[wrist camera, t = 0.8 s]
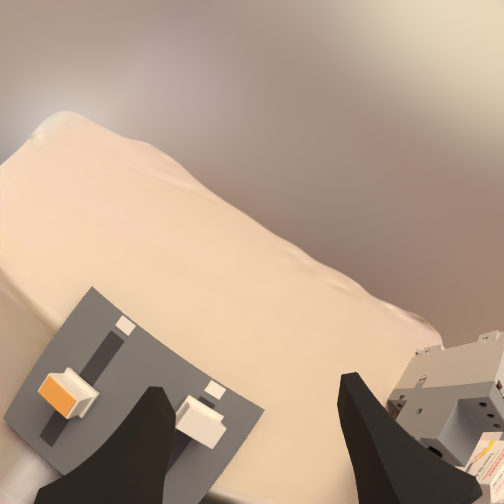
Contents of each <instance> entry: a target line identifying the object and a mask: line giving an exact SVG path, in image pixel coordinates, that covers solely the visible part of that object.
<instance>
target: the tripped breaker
mask: <svg viewBox="0 0 504 504" xmlns="http://www.w3.org/2000/svg"><path fill="white" fill-rule="evenodd" d="M38 392H39V393H40V394H41V395H42V396H43V397H44V398H45V399H46V400H47V401H48V402H49V403H50V404H51V405H52V406H53V407H54V408H55V409H56V410H57V411H58V412H59V413H61V414H62V415H63V416H64V417H65V418H67V419H69V418H72V417H74V416H76V415H78V416H79V417H81V418H83V417H84V416H85V415H86V413H87V412H88V410H89V409H90V407H91V406H92V404H93V403H94V401H95V400H96V399H97V397H98V396H99V394H100V393H99V392H97V391H96V390H95V389H94V388H93V387H91V386H90V385H89V384H88V383H87V382H86V381H84V380H83V379H82V378H81V377H80V376H79V375H78V374H77V373H75V372H74V371H73V370H72V369H71V368H67V369H66V370H65V372H64V373H49V374H48V376H47V377H46V379H45V380H44V382H43V383H42V385H41V386H40V388H39V390H38Z"/></svg>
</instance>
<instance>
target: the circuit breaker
mask: <svg viewBox="0 0 504 504" xmlns="http://www.w3.org/2000/svg"><path fill="white" fill-rule="evenodd" d="M485 338H488V339H487V341H486V339H485ZM427 351H429V353H428V355H426V353H427ZM416 353H417V355H416V357H413V358H412V360H411V361H410V363H409V365H408V367H407V369H406V370H405V372H404V374H403V375H402V377H401V379H400V380H399V382H398V384H397V385H396V387H395V389H394V390H393V392H392V393H391V395H390V396H389V398H388V400H389V401H390V402H391V403H392V404H393V405H394V406H395V407H396V408H397V409H398V410H399V411H400V413H399V415H398V416H397V418H396V422H397V423H398V424H399V425H400V426H401V427H402V428H403V429H404V430H405V431H407V432H408V433H409V434H410V435H411V436H412V437H413V438H414V439H415V440H417V441H418V442H419V443H420V444H422V445H423V446H424V447H425V448H427V449H428V450H429V451H431V452H432V453H434V454H435V455H437V456H438V457H440V458H441V459H443V460H444V461H446V462H448V463H449V464H451V465H453V466H456V467H466V465H467V463H468V461H469V459H470V457H471V456H472V454H473V452H474V450H475V448H476V446H477V444H478V442H479V440H480V437H481V435H482V433H483V432H504V332H499V331H498V330H497V331H493V332H489V333H485V334H482V335H480V336H479V339H478V342H474V343H470V344H466V345H461V346H457V347H452V348H448V349H445V348H444V347H443V346H442V345H437V346H432V347H428V348H425V349H424V350H423V351H420V350H419V349H418V350H417V351H416Z"/></svg>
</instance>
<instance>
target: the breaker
mask: <svg viewBox="0 0 504 504" xmlns="http://www.w3.org/2000/svg"><path fill="white" fill-rule="evenodd" d="M223 417H224V416H222V415H221V414H219V413H217V412H216V411H214V410H212V409H211V408H209V407H208V406H206V405H204V404H203V403H201V402H200V401H198V400H196V399H195V398H193V397H192V396H190V395H189V394H188V396H187V397H186V399H185V400H184V401H183V403H182V404H181V406H180V407H179V409H178V410H177V411H176V425H175V428H177V429H179V430H180V431H182V432H183V433H185V434H187V435H188V436H190V437H192V438H194V439H195V440H197V441H199V442H200V443H202V444H204V445H206V446H208V447H209V448H211V449H213V448H214V446H215V445H216V443H217V442H218V441H219V439H220V438H221V436H222V435H223V433H224V432H225V430H226V428H225V427H224V425H223V424H222V423H221V420H222V419H223Z"/></svg>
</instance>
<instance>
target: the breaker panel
mask: <svg viewBox="0 0 504 504" xmlns="http://www.w3.org/2000/svg"><path fill="white" fill-rule="evenodd" d="M67 368H71V369H72V370H73V371H74V372H75V373H77V374H78V375H79V376H80V377H81V378H82V379H83V380H84V381H86V382H87V383H88V384H89V385H90V386H91V387H93V388H94V389H95V390H96V391H97V392H99V393H100V394H99V396H98V397H97V399H96V400H95V401H94V403H93V404H92V406H91V407H90V409H89V410H88V412H87V413H86V415H85V416H84V417H83V418H81V417H79V416H78V415H76V416H74V417H72V418H69V419H67V418H65V417H64V416H63V415H62V414H61V413H59V412H58V411H57V410H56V409H55V408H54V407H53V406H52V405H51V404H50V403H49V402H48V401H47V400H46V399H45V398H44V397H43V396H42V395H41V394H40V393H39V392H38V390H39V388H40V386H41V385H42V383H43V382H44V380H45V379H46V377H47V376H48V374H49V373H64V372H65V370H66V369H67ZM149 386H155V387H163V389H164V391H165V393H166V395H167V397H168V399H169V401H170V403H171V405H172V407H173V409H174V411H175V413H176V411H177V410H178V409H179V407H180V406H181V404H182V403H183V401H184V400H185V399H186V397H187V396H188V394H189V395H190V396H192V397H193V398H195V399H196V400H198V401H200V402H201V403H203V404H204V405H206V406H208V407H209V408H211V409H212V410H214V411H216V412H217V413H219V414H221V415H222V416H224V417H223V419H222V420H221V423H222V424H223V425H224V427H225V428H226V430H225V432H224V433H223V435H222V436H221V438H220V439H219V441H218V442H217V443H216V445H215V446H214V448H213V449H211V448H209V447H208V446H206V445H204V444H202V443H200V442H199V441H197V440H195V439H194V438H192V437H190V436H188V435H187V434H185V433H183V432H182V431H180V430H179V429H177V428H175V435H174V440H173V444H172V449H171V453H170V458H169V462H168V467H167V471H166V476H165V481H164V490H163V504H198V503H199V502H200V501H201V499H202V498H203V497H204V496H205V494H206V493H207V492H208V490H209V489H210V488H211V487H212V485H213V484H214V483H215V481H216V480H217V479H218V477H219V476H220V475H221V473H222V472H223V470H224V469H225V468H226V466H227V465H228V464H229V462H230V461H231V459H232V458H233V457H234V455H235V454H236V452H237V451H238V449H239V448H240V447H241V445H242V444H243V442H244V441H245V439H246V438H247V436H248V435H249V433H250V432H251V430H252V429H253V427H254V426H255V424H256V423H257V421H258V420H259V418H260V417H261V415H262V413H263V412H264V409H263V408H261V407H259V406H257V405H255V404H254V403H252V402H250V401H249V400H247V399H245V398H243V397H242V396H240V395H238V394H237V393H235V392H234V391H232V390H230V389H229V388H227V387H225V386H224V385H222V384H221V383H219V382H218V381H216V380H214V379H213V378H211V377H210V376H208V375H207V374H205V373H204V372H202V371H201V370H199V369H198V368H196V367H195V366H193V365H192V364H190V363H189V362H187V361H186V360H185V359H183V358H182V357H180V356H179V355H177V354H176V353H175V352H173V351H172V350H170V349H169V348H168V347H166V346H165V345H164V344H162V343H161V342H160V341H158V340H157V339H156V338H154V337H153V336H152V335H150V334H149V333H148V332H146V331H145V330H144V329H142V328H141V327H140V326H139V325H137V324H136V323H135V322H134V321H132V320H131V319H130V318H129V317H127V316H126V315H125V314H124V313H122V312H121V311H120V310H119V309H118V308H116V307H115V306H114V305H113V304H112V303H111V302H109V301H108V300H107V299H106V298H105V297H104V296H102V295H101V294H100V293H99V292H98V291H97V290H96V289H94V288H93V287H91V288H90V289H89V291H88V292H87V293H86V295H85V296H84V297H83V298H82V300H81V301H80V302H79V304H78V305H77V306H76V308H75V309H74V310H73V312H72V313H71V314H70V316H69V317H68V318H67V320H66V321H65V322H64V324H63V325H62V327H61V328H60V329H59V331H58V332H57V334H56V335H55V337H54V338H53V339H52V341H51V342H50V344H49V345H48V347H47V348H46V350H45V351H44V353H43V354H42V356H41V357H40V359H39V360H38V362H37V363H36V365H35V366H34V368H33V369H32V371H31V372H30V374H29V376H28V377H27V379H26V380H25V382H24V384H23V385H22V387H21V389H20V390H19V392H18V394H17V395H16V397H15V399H14V400H13V402H12V404H11V406H10V407H9V409H8V411H7V413H6V415H5V416H4V418H3V419H4V420H5V421H6V422H7V423H8V424H9V425H10V426H11V427H12V428H13V429H14V430H15V431H16V433H17V434H18V435H19V436H20V437H21V438H22V439H23V440H24V441H25V442H26V443H27V444H28V445H30V446H31V447H32V448H33V449H34V450H35V451H36V452H37V453H38V454H39V455H40V456H41V457H42V458H44V459H45V460H46V461H47V462H48V463H49V464H51V465H52V466H53V467H54V468H55V469H56V470H58V471H59V472H60V473H61V474H63V475H66V474H67V473H69V472H70V471H72V470H73V469H75V468H76V467H78V466H79V465H80V464H82V463H83V462H84V461H85V460H86V459H88V458H89V457H90V456H91V455H92V454H93V453H94V452H95V451H97V450H98V449H99V448H100V447H101V446H102V445H103V444H104V443H105V441H106V440H107V439H108V438H109V437H110V436H111V435H112V434H113V432H114V431H115V430H116V429H117V428H118V427H119V425H120V424H121V423H122V422H123V420H124V419H125V418H126V417H127V415H128V414H129V413H130V411H131V410H132V409H133V407H134V406H135V405H136V403H137V402H138V400H139V399H140V398H141V396H142V395H143V394H144V392H145V391H146V390H147V388H148V387H149Z"/></svg>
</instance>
